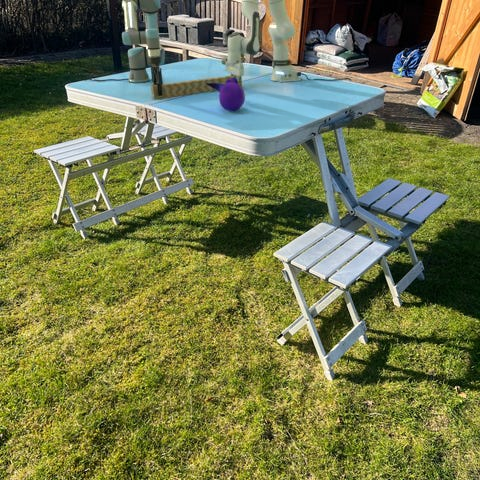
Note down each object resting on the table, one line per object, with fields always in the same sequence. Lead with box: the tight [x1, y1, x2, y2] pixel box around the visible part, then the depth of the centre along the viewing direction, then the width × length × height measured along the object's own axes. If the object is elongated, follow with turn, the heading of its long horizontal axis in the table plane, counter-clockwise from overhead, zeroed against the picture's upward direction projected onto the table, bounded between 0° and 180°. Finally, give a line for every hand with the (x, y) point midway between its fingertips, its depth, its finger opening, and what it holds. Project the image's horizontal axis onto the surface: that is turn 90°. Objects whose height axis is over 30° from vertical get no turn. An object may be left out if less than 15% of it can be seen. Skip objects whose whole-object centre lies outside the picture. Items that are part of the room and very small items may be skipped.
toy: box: [206, 78, 246, 112], centre depth 259 cm, size 16×18×27 cm
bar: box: [150, 75, 243, 100], centre depth 300 cm, size 64×4×8 cm, turn 119°
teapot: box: [221, 53, 245, 66], centre depth 369 cm, size 21×12×15 cm, turn 120°
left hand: (158, 94), depth 289 cm, fingers open, 6 cm apart
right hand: (235, 81), depth 311 cm, fingers closed on bar, 4 cm apart
